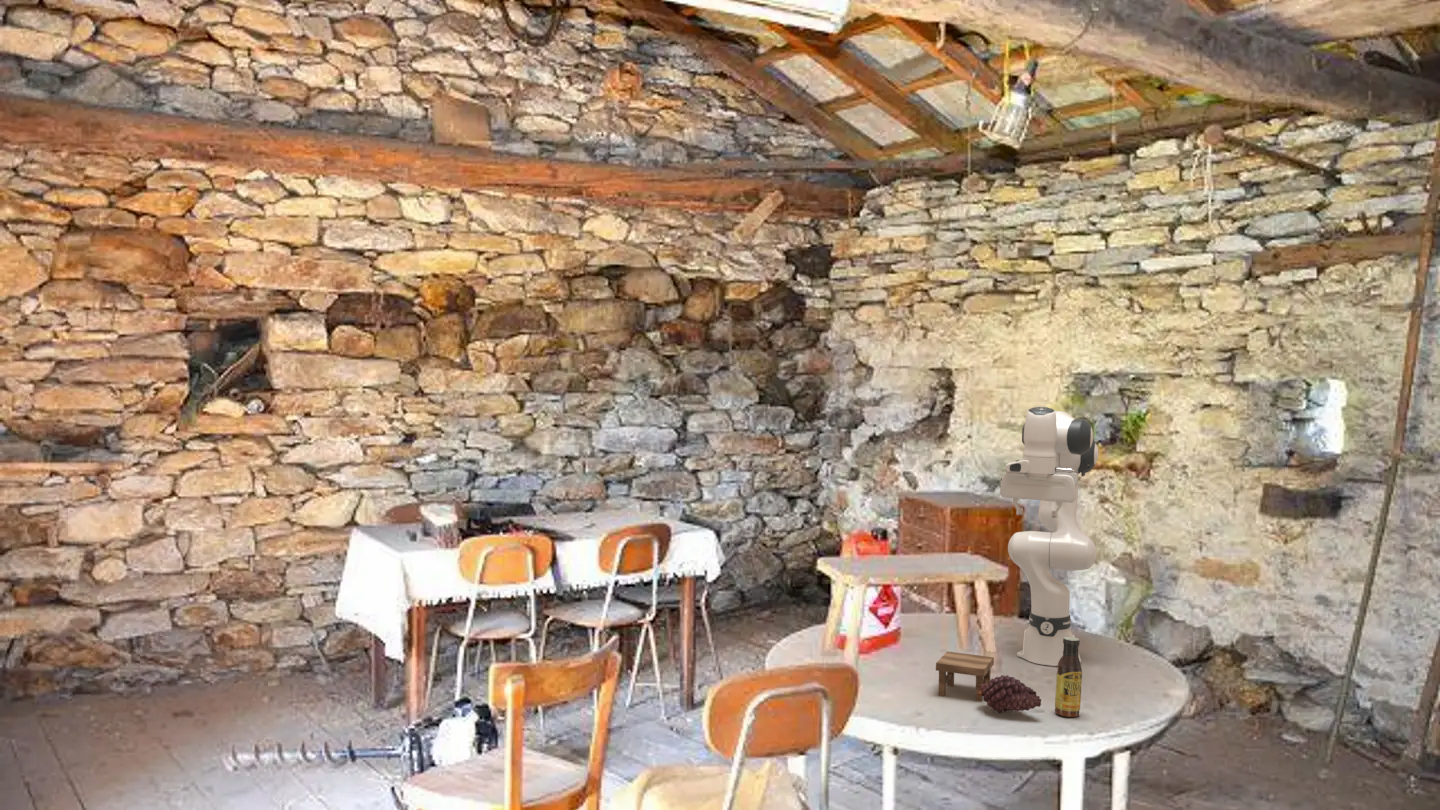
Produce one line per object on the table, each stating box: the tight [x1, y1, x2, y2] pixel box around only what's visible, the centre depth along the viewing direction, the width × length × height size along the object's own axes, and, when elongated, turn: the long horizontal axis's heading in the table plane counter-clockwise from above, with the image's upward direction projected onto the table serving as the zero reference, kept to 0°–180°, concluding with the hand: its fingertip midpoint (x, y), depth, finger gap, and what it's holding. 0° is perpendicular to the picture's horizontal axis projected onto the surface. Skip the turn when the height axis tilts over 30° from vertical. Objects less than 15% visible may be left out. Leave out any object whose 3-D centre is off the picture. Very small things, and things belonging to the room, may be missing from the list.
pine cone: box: [977, 675, 1042, 714], centre depth 284 cm, size 18×10×10 cm, turn 49°
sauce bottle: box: [1054, 636, 1083, 718], centre depth 284 cm, size 7×6×20 cm
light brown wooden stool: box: [935, 651, 995, 703], centre depth 301 cm, size 13×13×9 cm
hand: (1036, 516), depth 304 cm, fingers open, 8 cm apart
